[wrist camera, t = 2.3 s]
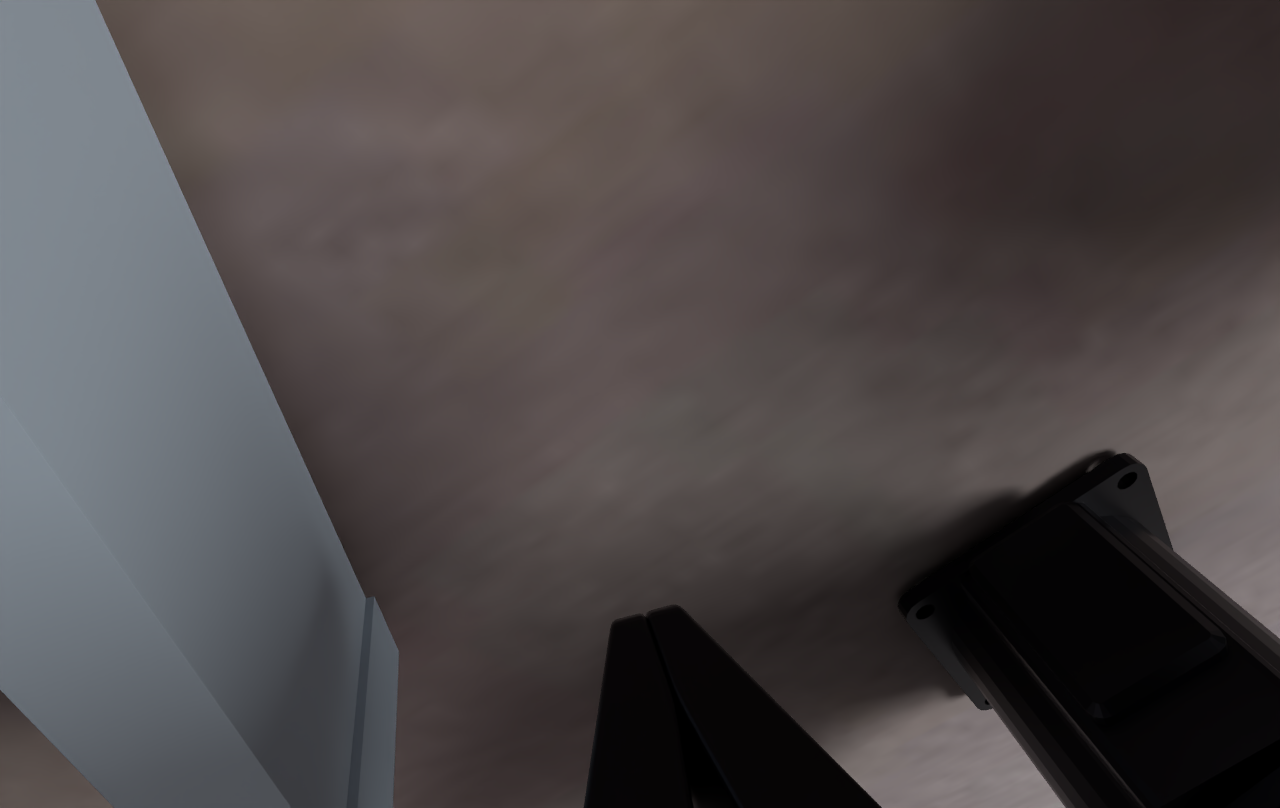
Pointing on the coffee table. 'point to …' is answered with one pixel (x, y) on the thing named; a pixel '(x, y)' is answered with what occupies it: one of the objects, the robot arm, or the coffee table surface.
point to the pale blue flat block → (157, 478)
